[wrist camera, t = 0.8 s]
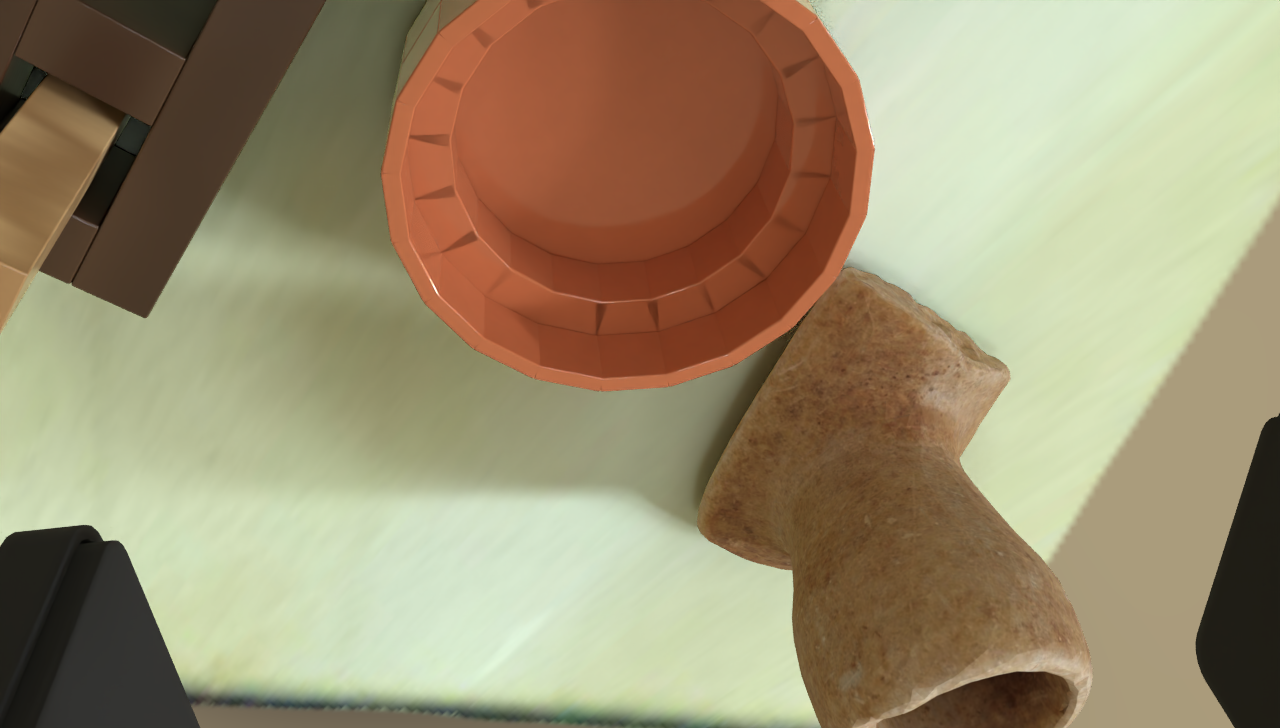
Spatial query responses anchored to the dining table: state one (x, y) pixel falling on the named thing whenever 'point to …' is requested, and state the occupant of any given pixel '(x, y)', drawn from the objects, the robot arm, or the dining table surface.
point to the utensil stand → (151, 118)
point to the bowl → (624, 180)
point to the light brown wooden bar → (47, 176)
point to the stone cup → (894, 526)
